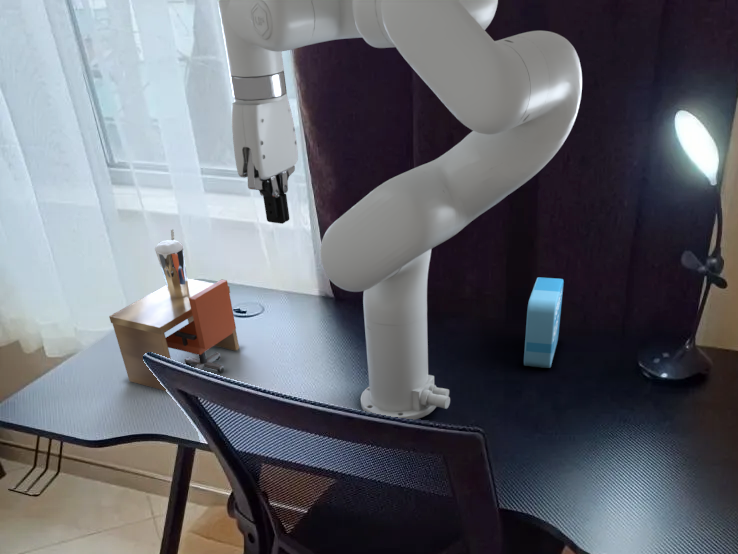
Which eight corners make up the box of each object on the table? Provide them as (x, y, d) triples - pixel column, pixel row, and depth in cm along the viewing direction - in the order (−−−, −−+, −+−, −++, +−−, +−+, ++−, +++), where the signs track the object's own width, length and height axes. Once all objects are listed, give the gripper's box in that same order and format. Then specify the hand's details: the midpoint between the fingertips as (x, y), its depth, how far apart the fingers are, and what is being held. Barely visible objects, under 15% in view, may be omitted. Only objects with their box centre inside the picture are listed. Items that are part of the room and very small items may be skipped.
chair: (244, 363, 140) (228, 279, 130) (211, 386, 134) (192, 300, 124) (203, 353, 144) (184, 271, 134) (169, 375, 137) (148, 291, 128)
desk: (240, 349, 144) (229, 286, 137) (176, 393, 132) (159, 327, 125) (194, 338, 149) (180, 276, 141) (128, 381, 137) (108, 316, 129)
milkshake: (197, 287, 137) (185, 229, 131) (188, 299, 133) (175, 240, 126) (172, 287, 137) (159, 229, 131) (162, 299, 133) (148, 240, 127)
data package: (549, 371, 133) (555, 304, 125) (523, 369, 134) (527, 302, 127) (558, 340, 142) (564, 275, 134) (533, 338, 143) (538, 274, 135)
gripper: (267, 76, 116) (285, 204, 128) (204, 97, 106) (230, 234, 118) (310, 78, 113) (324, 209, 125) (249, 99, 103) (271, 239, 115)
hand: (278, 220), depth 121 cm, fingers closed
